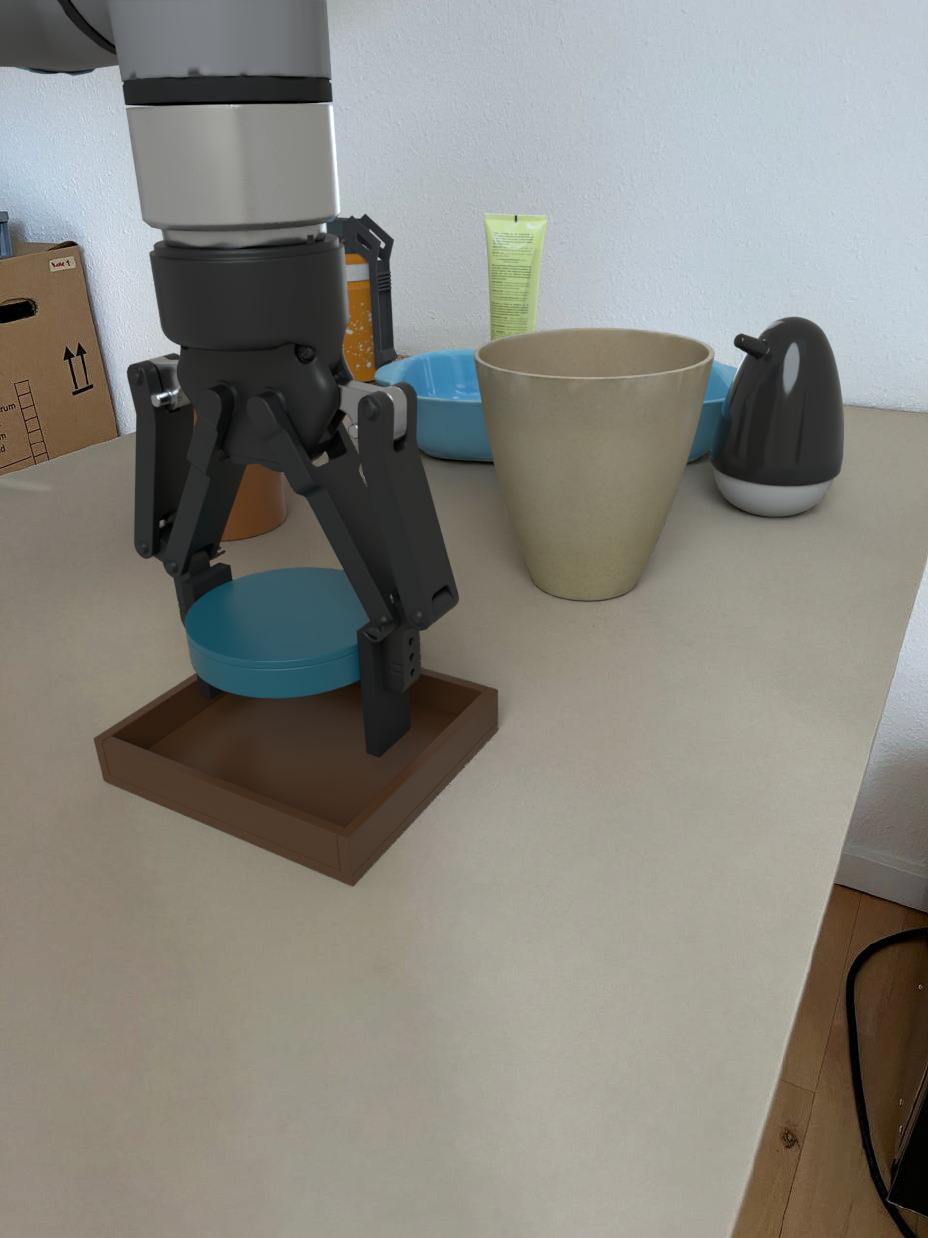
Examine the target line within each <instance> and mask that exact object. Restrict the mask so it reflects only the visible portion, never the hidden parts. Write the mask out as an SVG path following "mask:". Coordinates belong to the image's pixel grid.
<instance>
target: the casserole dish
mask: <svg viewBox="0 0 928 1238" xmlns="http://www.w3.org/2000/svg"><path fill="white" fill-rule="evenodd" d="M476 349H477V348H476ZM476 349H475V348H474V349H473V348H470V349H469V348H467V349H462V348H461V349H459V348H458V349H442V350H433V351H426V352H421V353H417V354H413V355H411V356H409V357H406V358H404V359H400V360H396V361H392V362H391V363H390V364H387V365H384V366H382V367H381V368H379V369H378V370H377V371H376V373H375V376H374V379H375V381H376V382H377V383H378V384H380V385H382V386H385V387H389V386H391V385H393V384H396V383H398V382H407V383H409V384H411V385H412V387H413V388H414V389H415V391H416V393H417V436H416V440H417V444H418V447H419V450H422V451H423V452H424V453H425V454H427V455H429V456H430V457H434V458H439V459H446V460H457V461H474V462H494V461H493V457H492V453H491V448H490V444H489V439H488V435H487V430H486V425H485V420H484V414H483V408H482V403H481V397H480V391H479V385H478V379H477V373H476V367H475V360H474V351H475V350H476ZM737 369H738V367H735V366H732V365H728V364H724V363H721V362H719V361H718V360H715V359H714V360H713V364H712V368H711V373H710V377H709V381H708V385H707V390H706V394H705V398H704V402H703V406H702V411H701V415H700V419H699V422H698V426H697V430H696V433H695V437H694V441H693V444H692V447H691V451H690V454H689V457H688V460H687V463H686V464H689V463H692V462H695V461H697V460H698V459H699V458H701V457H703V456H705V454H707V453H708V452H710V451H711V447H712V442H713V438H714V434H715V430H716V426H717V422H718V419H719V415H720V412H721V409H722V406H723V403H724V400H725V397H726V395H727V392H728V390H729V387H730V385H731V383H732V380H733V378H734V376H735V374H736V371H737Z"/></svg>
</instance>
